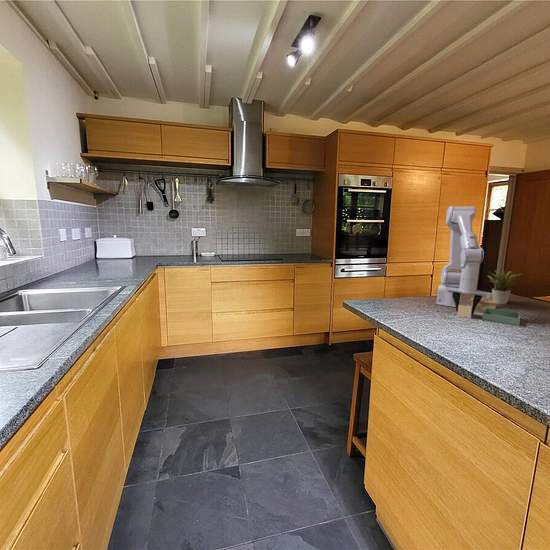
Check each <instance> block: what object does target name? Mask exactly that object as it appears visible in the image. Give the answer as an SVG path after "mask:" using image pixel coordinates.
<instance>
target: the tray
mask: <svg viewBox="0 0 550 550" xmlns="http://www.w3.org/2000/svg"><path fill="white" fill-rule="evenodd" d="M481 320H482V321H486V320H487V321H488V322H493V323H498V324H504V325H511V326H515V325H516V327H520V322H521V312H516V311H510V310H504V309H491V308H485V310H484V313H482V319H481Z"/></svg>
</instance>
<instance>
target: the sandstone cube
mask: <svg viewBox="0 0 550 550" xmlns="http://www.w3.org/2000/svg"><path fill="white" fill-rule="evenodd" d="M472 307H473V305H471V303H470V304H469V303H462V302H461V303H460V304H459V305H458V312H456V313H457V315H456V316H457V317H459V316H461V318H465V317H467V318H466V319H471V318H472V317H473V316H472V315H473V314H471V312H472Z"/></svg>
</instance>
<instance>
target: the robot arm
mask: <svg viewBox="0 0 550 550" xmlns="http://www.w3.org/2000/svg"><path fill="white" fill-rule="evenodd" d="M476 211H477V210H476V207H475V206H474V205H471V206H470V205H469V206H467V205H466V206H460V205H459V206H453V205H451V206H450V205H449V206H448V208H447V210H446V213H445V214H446V215H445V217H446V219H445V224H446V227H448V228H450V229H449V232H450V233H449V234H450V236H449V256H448V257H449V263H448V264H447V265H445V266H443V267H442V269H441V274H440V282H441V283H440V284H438V289H437V296H436V305H439V306H446V307H453V308H455V310H456V313H458V305H459V304H460V303H462V296H463V295H464V296H465V295H467V296H471V297H474V298H473V307H472V312H471V314H472V315H474V314H475V308H476V306H477V304H478V303H479V302H480V300H481V299H482V298H485V299H491V292H489V291H484V290H478V288H477V287H478V281H479V273H480V272H479V271H480V265H481V263H483V260H484V257H485V256H484V254H485V252H484V249H483V248H482V247H481V246H479V240H478V238H477V234H476V233H473V224H472V223H473V221H474V219H475V217H476V213H477V212H476Z"/></svg>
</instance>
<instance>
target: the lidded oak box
mask: <svg viewBox="0 0 550 550" xmlns="http://www.w3.org/2000/svg"><path fill="white" fill-rule="evenodd" d="M473 298H474V296H471V297H470V305H473ZM497 301H498V300H493V298H492V299H491V298H485V297H482V299H481V300H480V302H479V303H478V304H477V306H476V308H475V311H476V313H481V312H482V314H483V313H484V310H485V308H491V309H496V308H497V305H498V304H497ZM475 311H474V312H475Z"/></svg>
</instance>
